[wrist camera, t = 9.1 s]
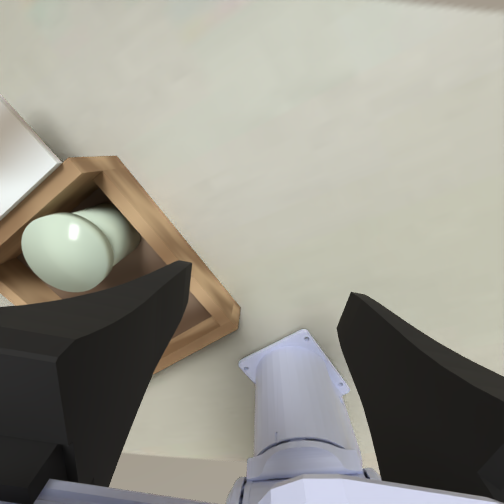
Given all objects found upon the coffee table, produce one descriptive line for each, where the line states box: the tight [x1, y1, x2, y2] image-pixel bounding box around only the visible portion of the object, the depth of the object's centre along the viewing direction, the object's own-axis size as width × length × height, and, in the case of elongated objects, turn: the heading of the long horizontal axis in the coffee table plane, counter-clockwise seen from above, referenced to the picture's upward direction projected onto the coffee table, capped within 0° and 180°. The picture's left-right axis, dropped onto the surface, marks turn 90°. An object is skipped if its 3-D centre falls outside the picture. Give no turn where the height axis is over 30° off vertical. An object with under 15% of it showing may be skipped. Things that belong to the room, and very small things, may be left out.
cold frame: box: [0, 94, 240, 374], centre depth 19 cm, size 24×14×5 cm, turn 34°
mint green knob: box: [21, 203, 141, 292], centre depth 18 cm, size 5×5×6 cm
